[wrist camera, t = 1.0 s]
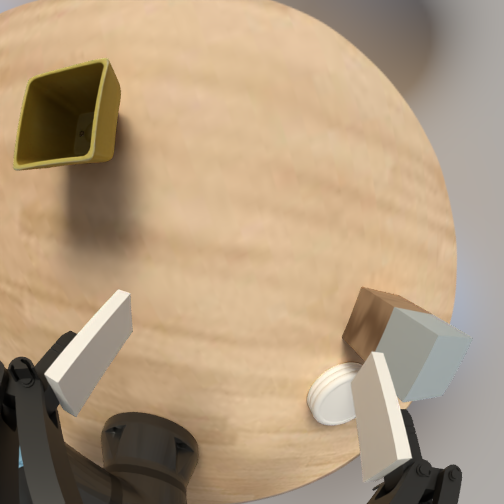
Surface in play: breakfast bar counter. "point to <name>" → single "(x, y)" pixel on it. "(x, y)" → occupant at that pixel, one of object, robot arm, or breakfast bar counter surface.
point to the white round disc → (334, 395)
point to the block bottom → (372, 319)
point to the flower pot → (68, 117)
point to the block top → (421, 353)
